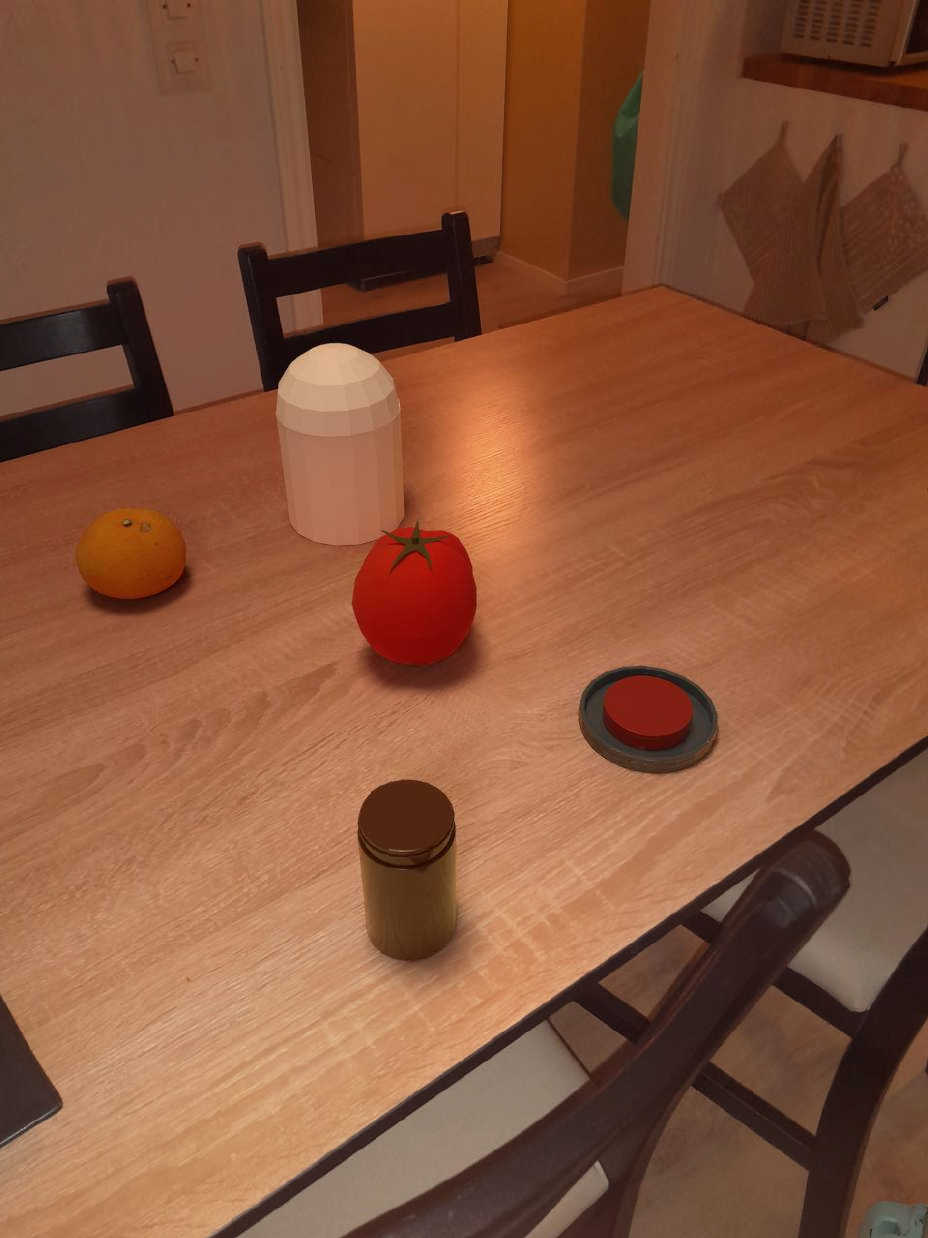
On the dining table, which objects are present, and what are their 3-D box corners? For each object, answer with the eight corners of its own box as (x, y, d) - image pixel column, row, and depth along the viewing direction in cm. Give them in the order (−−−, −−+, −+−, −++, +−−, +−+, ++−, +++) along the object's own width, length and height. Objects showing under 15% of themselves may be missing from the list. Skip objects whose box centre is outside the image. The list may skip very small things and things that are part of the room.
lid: (623, 679, 89) (625, 665, 88) (702, 709, 86) (705, 694, 85) (587, 729, 84) (589, 714, 82) (670, 763, 80) (673, 748, 79)
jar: (474, 923, 69) (476, 816, 62) (405, 978, 65) (399, 872, 58) (416, 868, 72) (411, 762, 65) (348, 918, 69) (335, 811, 62)
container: (395, 549, 106) (387, 378, 94) (275, 542, 107) (252, 371, 95) (412, 487, 116) (407, 325, 104) (303, 481, 117) (285, 320, 105)
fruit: (157, 623, 96) (141, 556, 91) (66, 603, 98) (45, 537, 93) (210, 565, 103) (198, 501, 98) (124, 548, 106) (108, 485, 101)
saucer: (742, 749, 82) (745, 736, 81) (621, 789, 79) (623, 776, 78) (667, 665, 91) (669, 653, 90) (555, 698, 87) (556, 685, 86)
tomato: (506, 650, 93) (511, 534, 84) (408, 710, 86) (403, 591, 78) (426, 596, 99) (423, 484, 91) (329, 649, 93) (317, 533, 84)
